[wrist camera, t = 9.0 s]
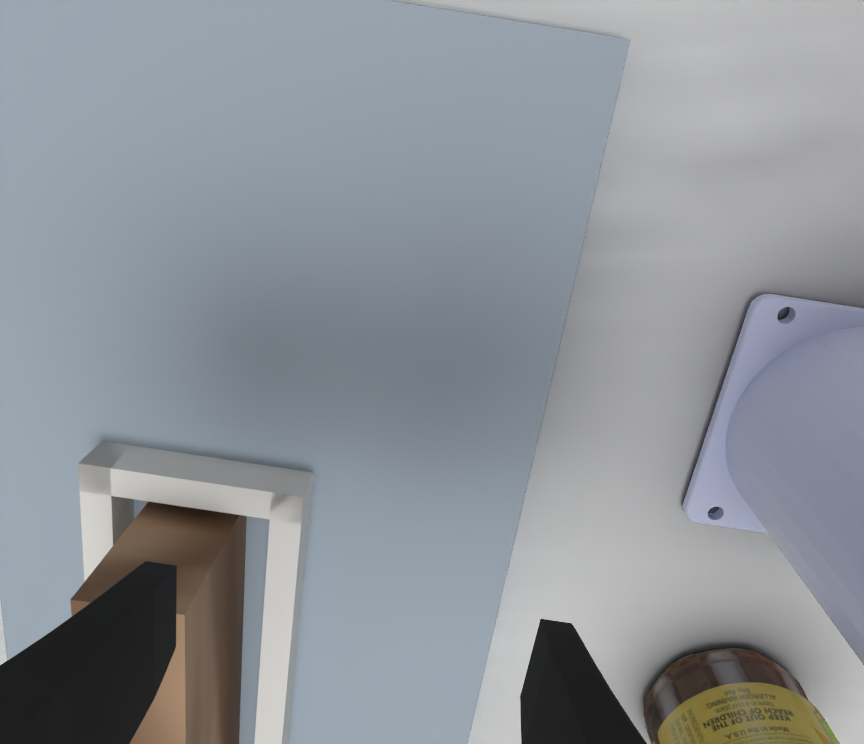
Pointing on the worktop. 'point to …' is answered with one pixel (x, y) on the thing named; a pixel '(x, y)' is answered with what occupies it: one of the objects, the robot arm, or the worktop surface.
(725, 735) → the brown medicine bottle
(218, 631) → the wooden block
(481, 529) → the wall board
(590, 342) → the worktop surface
